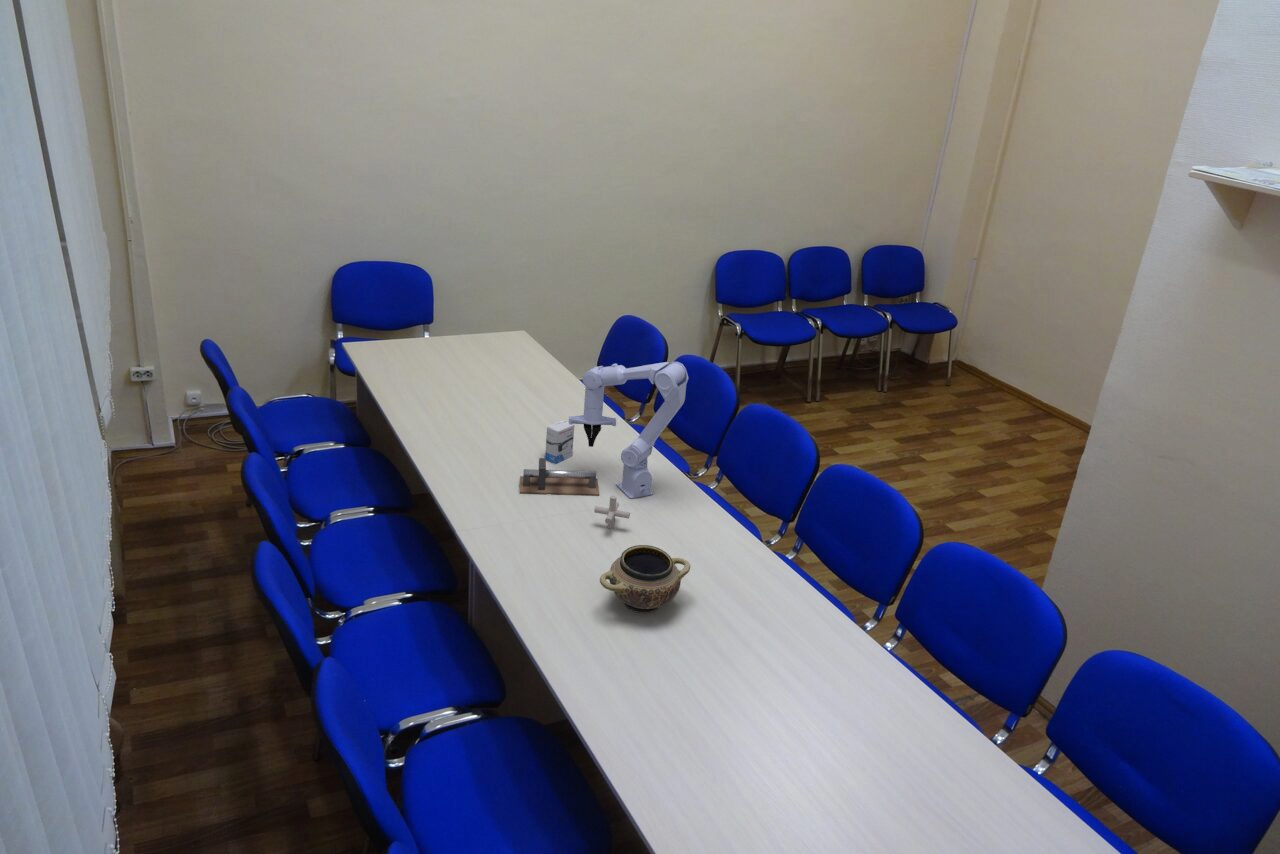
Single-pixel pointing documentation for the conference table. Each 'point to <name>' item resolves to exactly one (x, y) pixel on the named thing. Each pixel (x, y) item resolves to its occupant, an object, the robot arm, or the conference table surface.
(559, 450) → the ink box
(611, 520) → the pipe connector
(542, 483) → the rubber collar
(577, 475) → the steel pipe
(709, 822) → the conference table surface
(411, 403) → the conference table surface
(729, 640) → the conference table surface
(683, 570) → the ceramic bowl
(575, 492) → the walnut board
